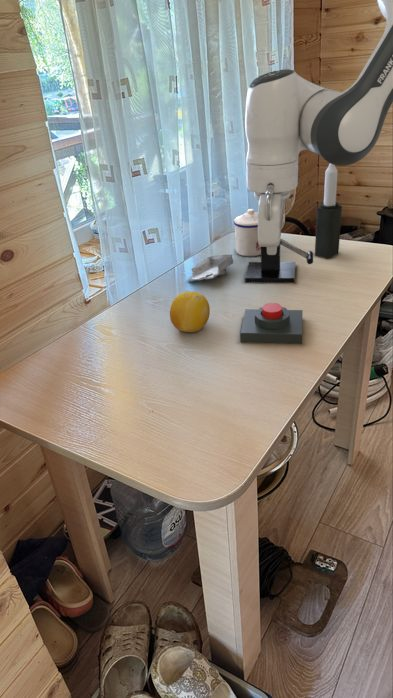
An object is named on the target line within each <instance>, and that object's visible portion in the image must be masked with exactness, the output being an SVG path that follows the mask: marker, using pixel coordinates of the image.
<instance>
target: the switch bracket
mask: <svg viewBox="0 0 393 698" xmlns="http://www.w3.org/2000/svg"><path fill="white" fill-rule="evenodd" d="M296 265H297V264H296V261H281V244H279V246H277V253H276V254H275V255H268V254H267V247H261V255H260V261H248V264H247V267H246V271H245V275H244V283H265V284H266V283H268V284H269V283H270V284H271V283H273V284H274V283H275V284H277V283H280V284H281V283H282V284H284V283H285V284H289V283H290V284H291V283H293V284H295V281H296Z"/></svg>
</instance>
